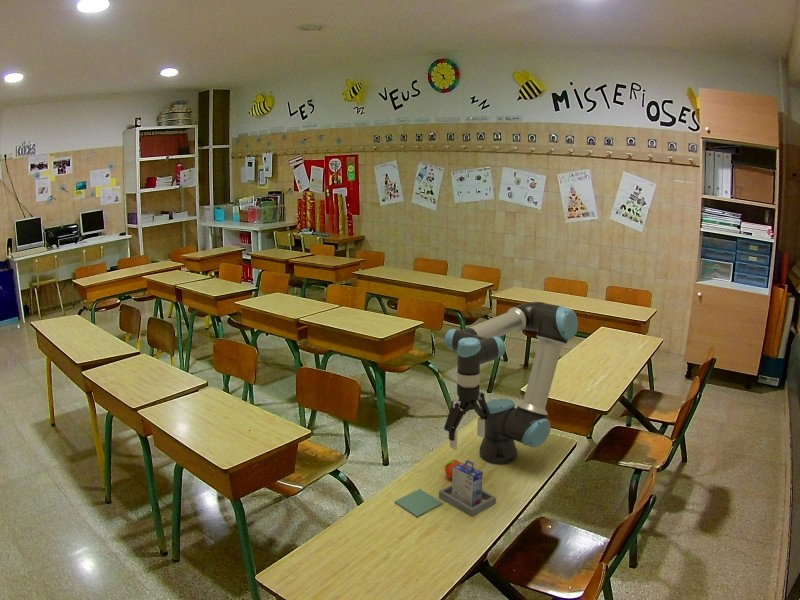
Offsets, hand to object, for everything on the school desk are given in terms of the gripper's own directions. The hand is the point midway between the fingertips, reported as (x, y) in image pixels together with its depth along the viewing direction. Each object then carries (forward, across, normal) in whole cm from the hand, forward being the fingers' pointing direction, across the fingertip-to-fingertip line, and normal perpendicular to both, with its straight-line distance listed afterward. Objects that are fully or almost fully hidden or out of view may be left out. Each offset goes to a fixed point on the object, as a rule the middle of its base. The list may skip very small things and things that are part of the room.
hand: (467, 442), depth 210 cm
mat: (+23, +14, -10) cm, 28 cm away
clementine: (+23, -7, -14) cm, 28 cm away
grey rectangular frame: (+22, 0, 0) cm, 23 cm away
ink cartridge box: (+23, 0, 0) cm, 23 cm away
